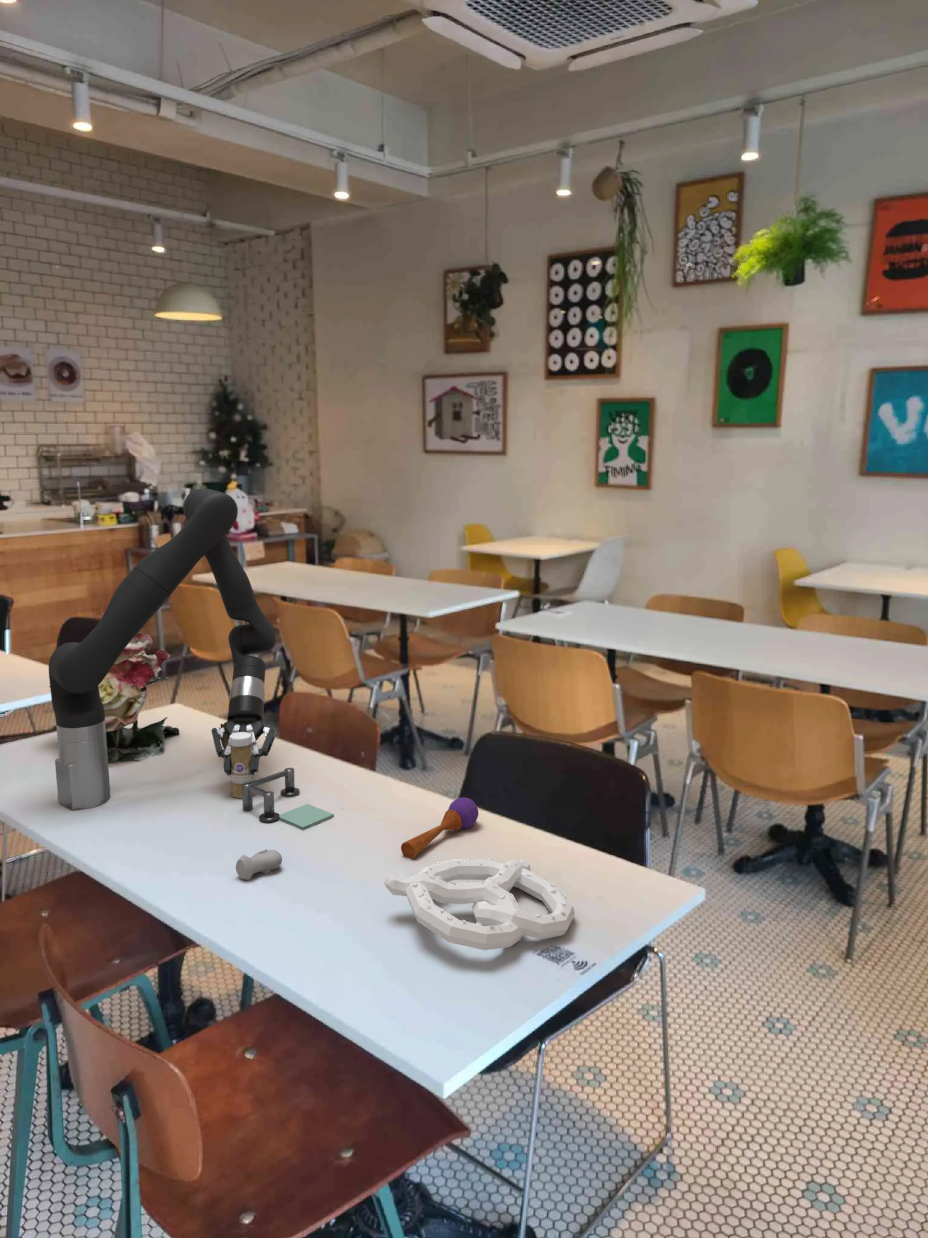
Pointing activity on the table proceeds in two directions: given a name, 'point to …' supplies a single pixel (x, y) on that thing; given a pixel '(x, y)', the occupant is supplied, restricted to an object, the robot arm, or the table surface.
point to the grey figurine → (258, 863)
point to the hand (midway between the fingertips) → (240, 773)
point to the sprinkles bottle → (240, 761)
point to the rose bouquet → (132, 702)
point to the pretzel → (483, 902)
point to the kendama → (444, 826)
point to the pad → (305, 816)
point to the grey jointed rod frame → (268, 794)
